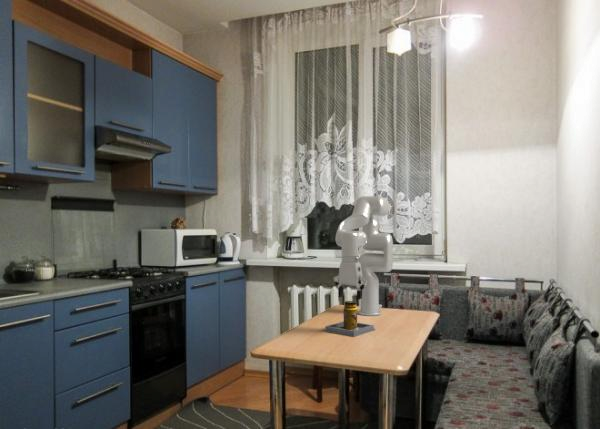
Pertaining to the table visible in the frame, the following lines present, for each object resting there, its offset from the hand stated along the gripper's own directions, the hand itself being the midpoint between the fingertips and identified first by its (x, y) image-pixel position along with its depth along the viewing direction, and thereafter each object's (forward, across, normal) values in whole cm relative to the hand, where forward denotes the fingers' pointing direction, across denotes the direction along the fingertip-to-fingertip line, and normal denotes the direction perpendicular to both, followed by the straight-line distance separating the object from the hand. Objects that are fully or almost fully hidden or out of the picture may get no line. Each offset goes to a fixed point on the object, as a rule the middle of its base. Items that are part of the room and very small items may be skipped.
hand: (350, 297), depth 221 cm
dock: (+14, 0, +1) cm, 14 cm away
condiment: (+14, 0, +1) cm, 14 cm away
